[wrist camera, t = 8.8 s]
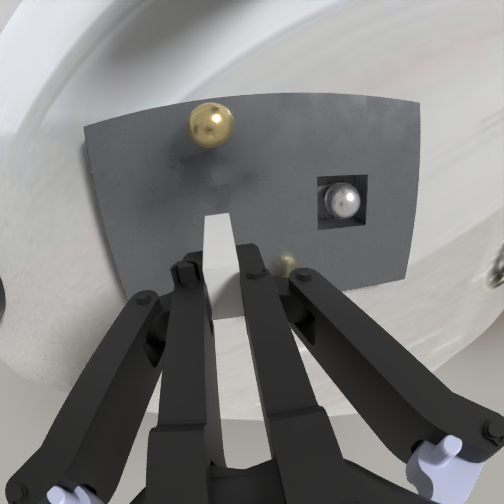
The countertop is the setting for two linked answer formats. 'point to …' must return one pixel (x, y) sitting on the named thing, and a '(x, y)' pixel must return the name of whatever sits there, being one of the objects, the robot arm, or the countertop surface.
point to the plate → (261, 185)
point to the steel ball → (342, 200)
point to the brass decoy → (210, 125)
